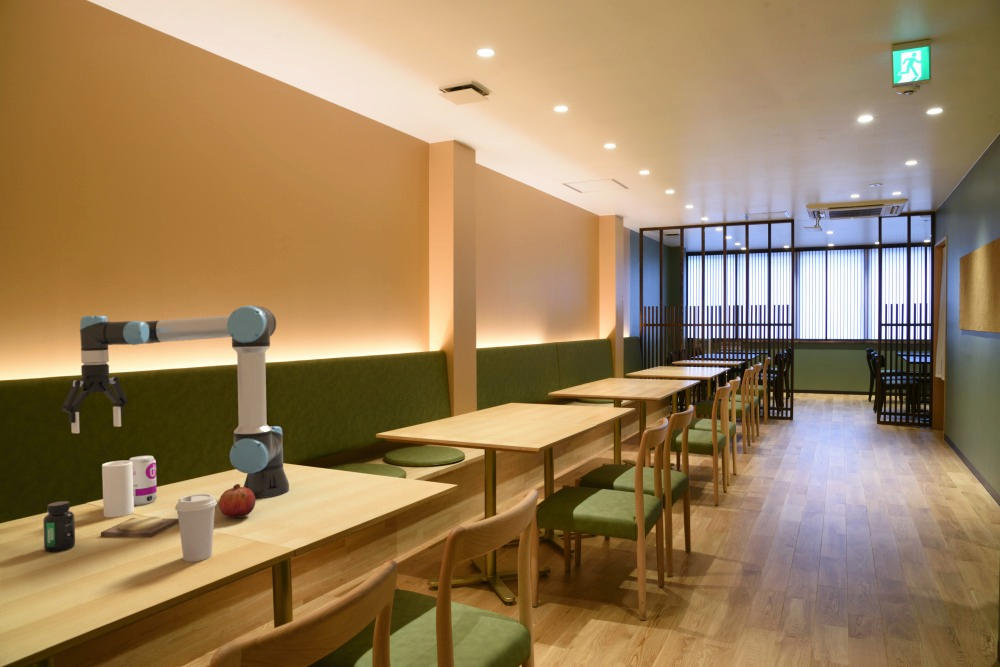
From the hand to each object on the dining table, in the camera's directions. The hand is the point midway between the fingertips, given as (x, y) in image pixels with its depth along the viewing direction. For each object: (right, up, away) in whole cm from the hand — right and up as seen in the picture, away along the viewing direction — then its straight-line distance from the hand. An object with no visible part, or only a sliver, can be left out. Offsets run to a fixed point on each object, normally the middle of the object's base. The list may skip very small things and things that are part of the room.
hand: (97, 429), depth 207 cm
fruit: (+50, -25, -12) cm, 57 cm away
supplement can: (+10, -26, +9) cm, 29 cm away
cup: (+10, -26, -4) cm, 28 cm away
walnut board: (+26, -26, -21) cm, 42 cm away
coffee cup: (+54, -26, -45) cm, 75 cm away
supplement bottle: (+13, -26, -36) cm, 46 cm away
